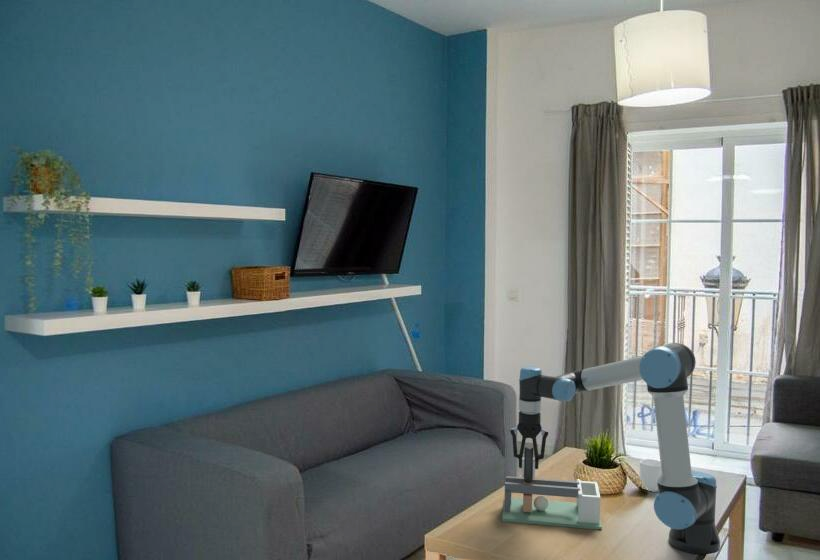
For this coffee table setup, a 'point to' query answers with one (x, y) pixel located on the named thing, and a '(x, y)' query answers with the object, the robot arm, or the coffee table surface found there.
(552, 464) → the coffee table surface
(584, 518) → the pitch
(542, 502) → the ball
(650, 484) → the mug
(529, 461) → the post
